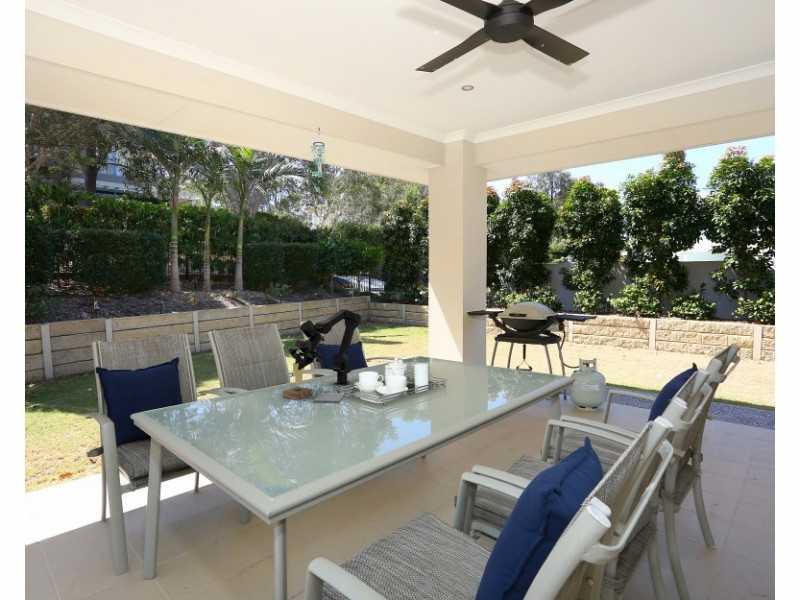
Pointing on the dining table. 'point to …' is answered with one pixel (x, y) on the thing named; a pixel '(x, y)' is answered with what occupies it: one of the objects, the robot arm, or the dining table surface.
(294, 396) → the slot block
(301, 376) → the t key
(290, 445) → the dining table surface
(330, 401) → the mat
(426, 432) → the dining table surface
